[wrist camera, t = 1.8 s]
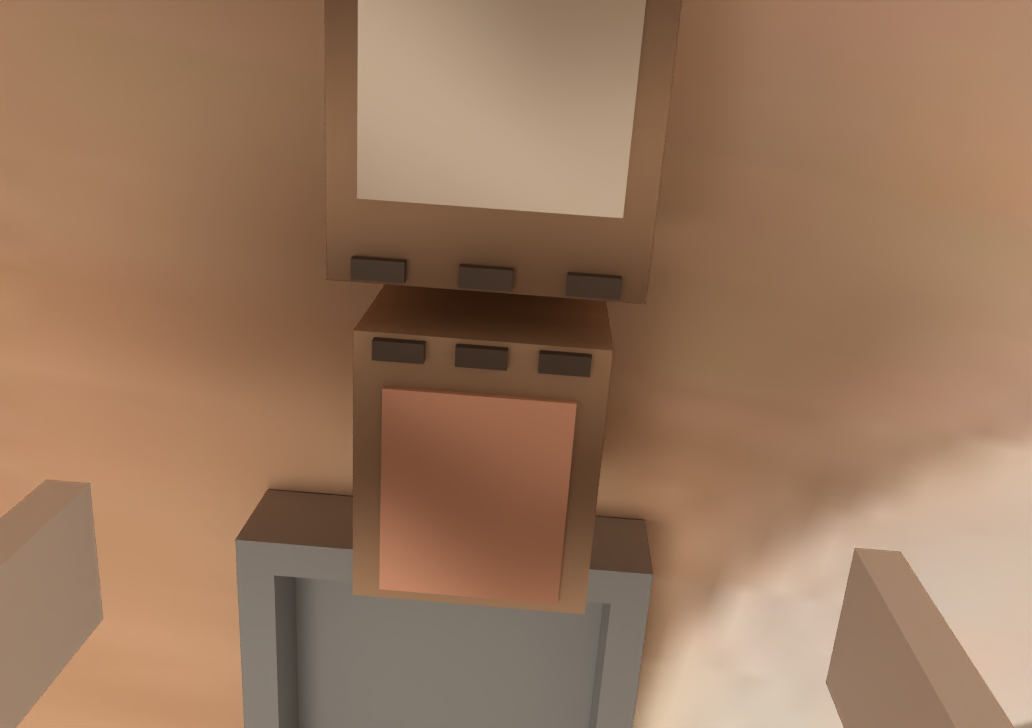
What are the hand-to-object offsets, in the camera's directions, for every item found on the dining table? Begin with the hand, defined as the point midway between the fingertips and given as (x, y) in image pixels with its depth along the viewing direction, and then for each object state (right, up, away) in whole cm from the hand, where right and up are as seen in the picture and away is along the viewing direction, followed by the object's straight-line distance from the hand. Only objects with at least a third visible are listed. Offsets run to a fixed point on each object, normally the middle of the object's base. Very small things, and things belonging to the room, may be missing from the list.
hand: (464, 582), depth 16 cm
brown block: (0, +4, +9) cm, 10 cm away
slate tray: (-1, -5, +13) cm, 14 cm away
